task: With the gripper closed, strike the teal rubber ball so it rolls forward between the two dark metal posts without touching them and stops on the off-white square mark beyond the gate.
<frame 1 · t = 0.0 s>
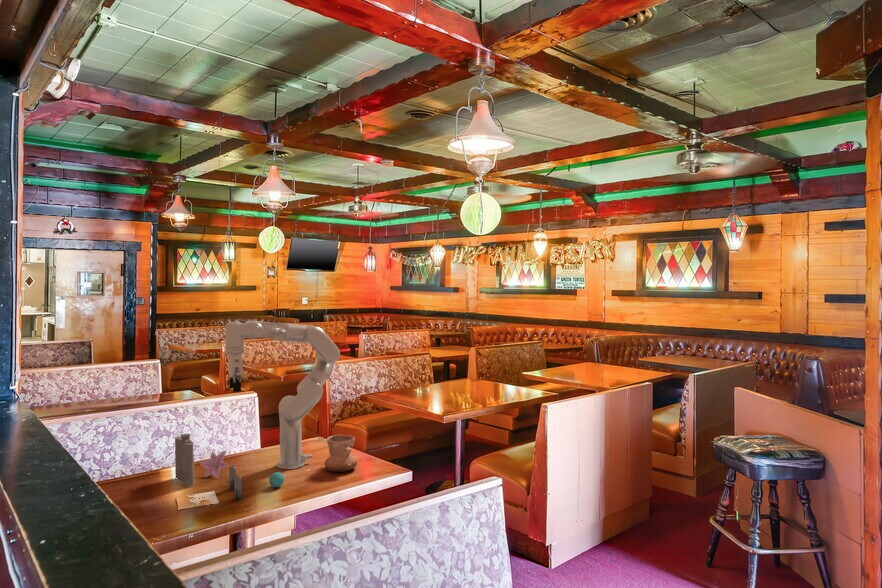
hand: (235, 389, 247), 37 cm above the table, tool pointing down, fingers open, 9 cm apart
ceramic jug: (340, 469, 253), on the table
ball: (276, 479, 231), on the table
lily: (215, 475, 246), on the table
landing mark: (196, 500, 217), on the table
hip flask: (185, 482, 238), on the table
right post: (232, 488, 229), on the table
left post: (238, 499, 218), on the table
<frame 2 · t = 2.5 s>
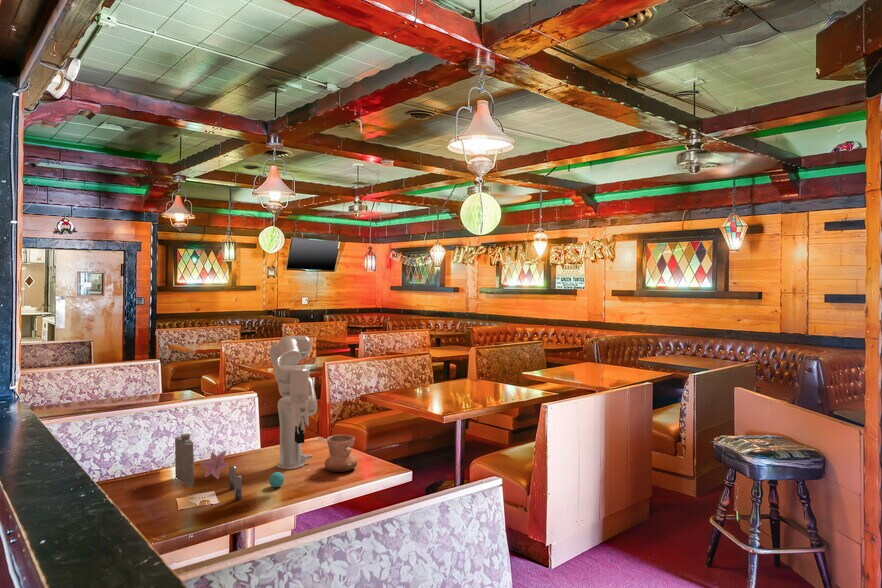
hand: (299, 441, 235), 17 cm above the table, tool pointing down, fingers closed
nothing on the table moved.
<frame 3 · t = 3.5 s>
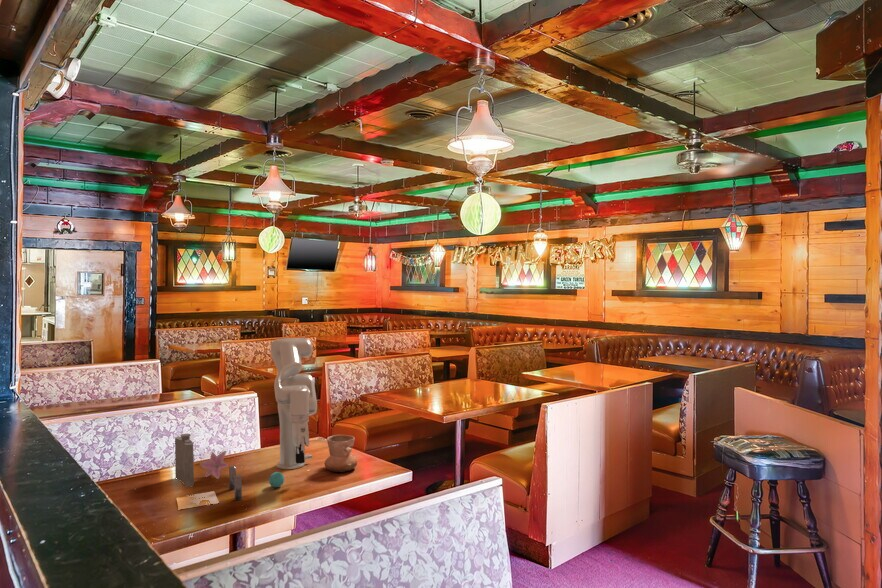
hand: (300, 462, 235), 9 cm above the table, tool pointing down, fingers closed
nothing on the table moved.
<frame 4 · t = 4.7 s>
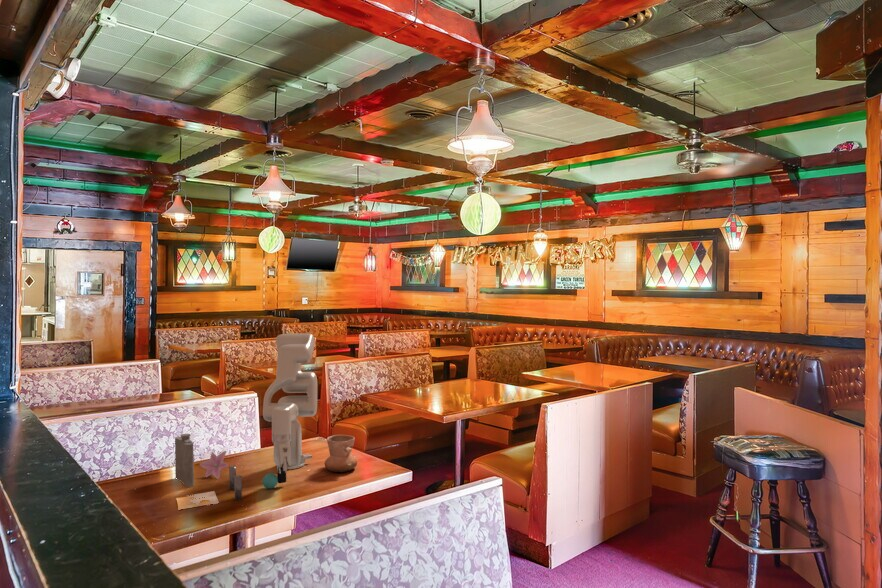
hand: (281, 482, 232), 2 cm above the table, tool pointing down, fingers closed
ball: (270, 480, 230), on the table
everything else where it was.
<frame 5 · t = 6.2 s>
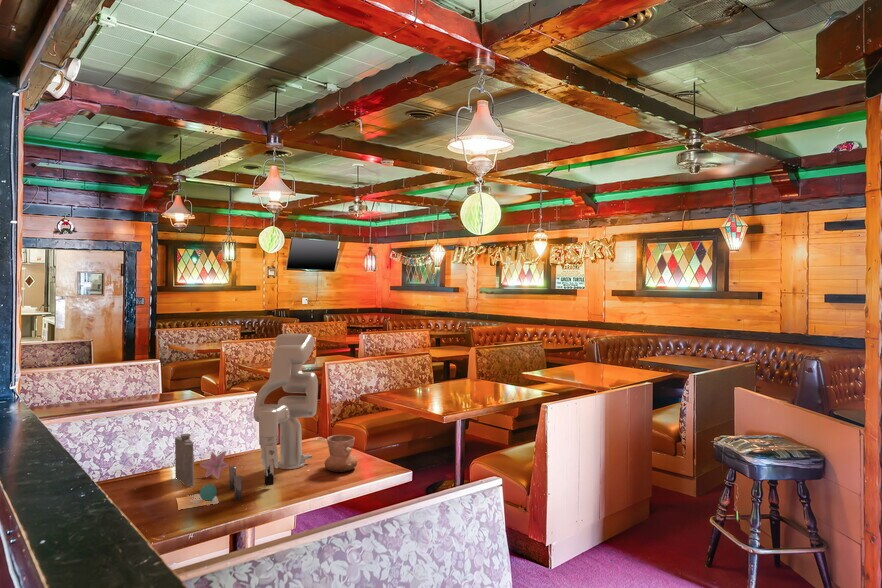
hand: (269, 484, 230), 2 cm above the table, tool pointing down, fingers closed
ball: (208, 492, 217), on the table
everything else where it was.
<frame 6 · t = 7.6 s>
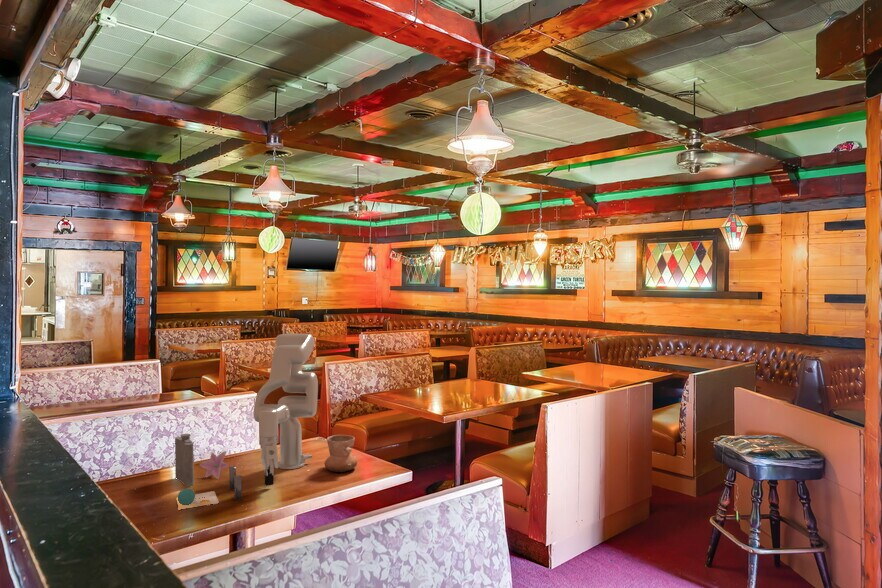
hand: (269, 484, 230), 2 cm above the table, tool pointing down, fingers closed
ball: (186, 496, 213), on the table
everything else where it was.
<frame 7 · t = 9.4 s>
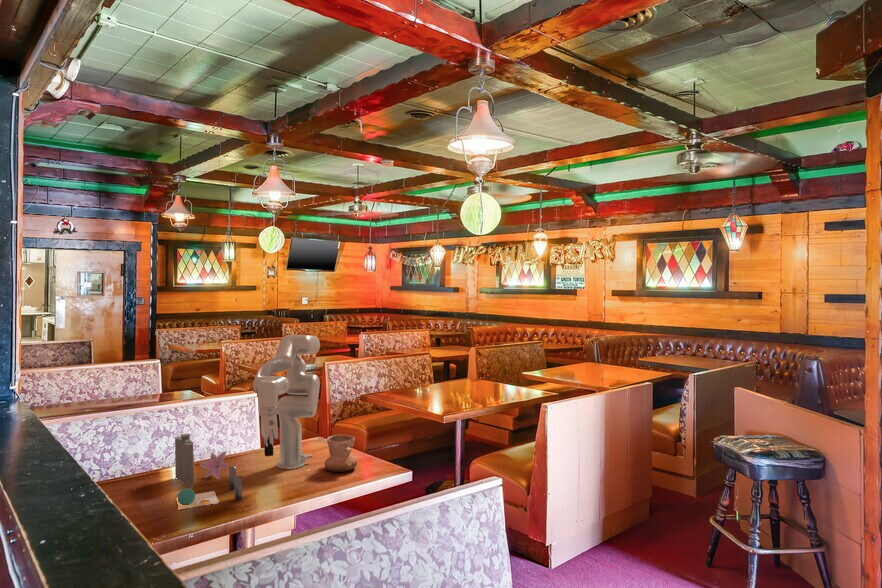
hand: (268, 455, 229), 13 cm above the table, tool pointing down, fingers closed
nothing on the table moved.
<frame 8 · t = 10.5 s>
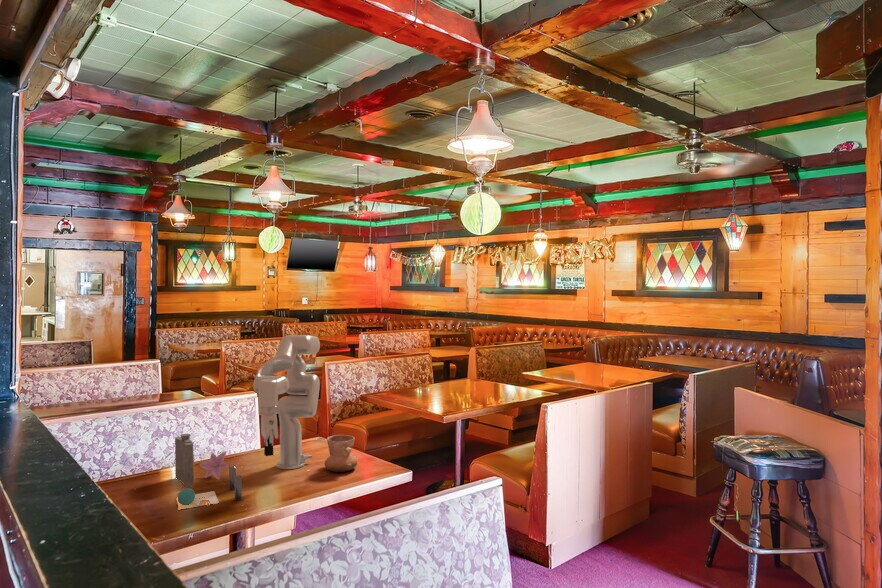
hand: (268, 455, 229), 14 cm above the table, tool pointing down, fingers closed
at the end: ball 4.5 cm from the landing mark (horizontally); ball never touched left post; ball never touched right post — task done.
